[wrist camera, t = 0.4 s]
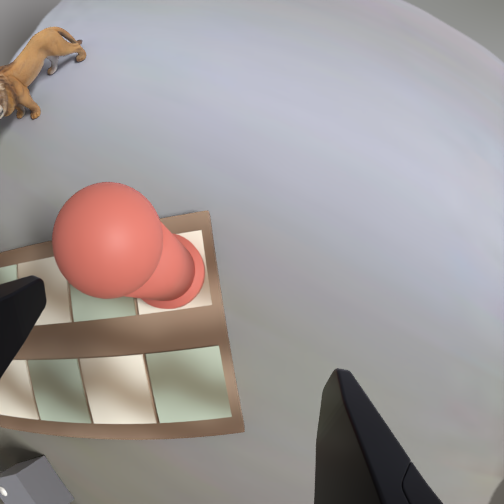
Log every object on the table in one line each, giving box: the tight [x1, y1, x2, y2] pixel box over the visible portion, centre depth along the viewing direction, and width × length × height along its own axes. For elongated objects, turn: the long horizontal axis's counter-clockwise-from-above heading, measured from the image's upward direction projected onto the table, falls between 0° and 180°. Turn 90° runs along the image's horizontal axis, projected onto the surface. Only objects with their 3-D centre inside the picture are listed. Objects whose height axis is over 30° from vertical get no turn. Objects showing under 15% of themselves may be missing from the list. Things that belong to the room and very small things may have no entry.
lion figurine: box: [0, 27, 86, 119], centre depth 22 cm, size 15×5×9 cm, turn 160°
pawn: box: [52, 182, 205, 309], centre depth 16 cm, size 5×5×13 cm
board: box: [0, 210, 244, 440], centre depth 21 cm, size 16×23×1 cm
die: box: [0, 455, 74, 504], centre depth 17 cm, size 5×5×5 cm
